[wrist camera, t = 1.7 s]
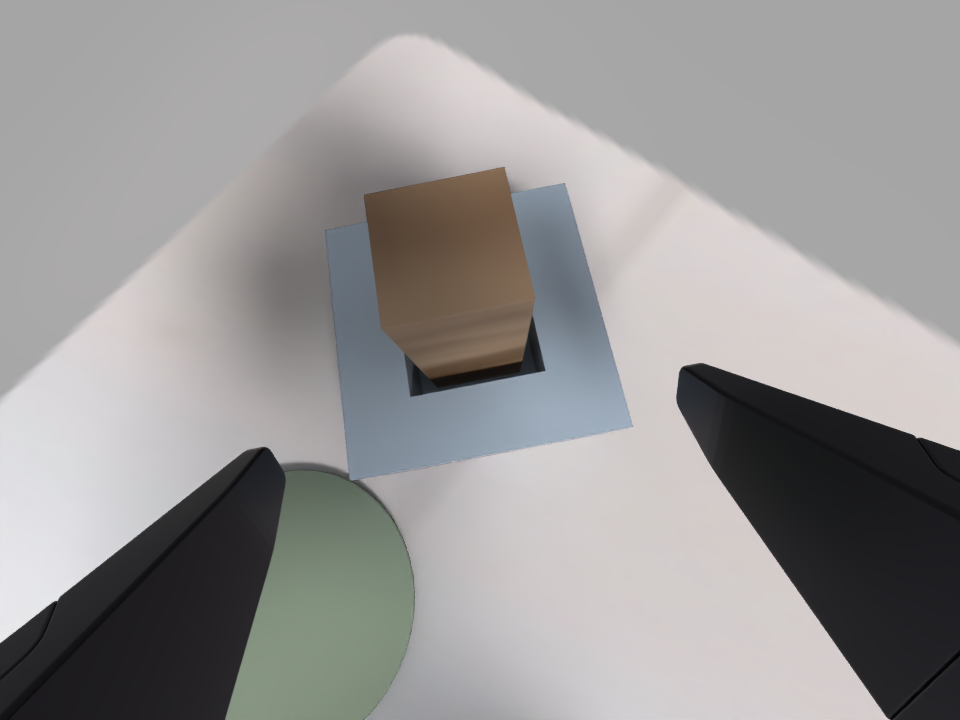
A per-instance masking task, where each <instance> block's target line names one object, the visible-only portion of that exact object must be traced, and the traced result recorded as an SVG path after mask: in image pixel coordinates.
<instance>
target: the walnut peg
mask: <svg viewBox="0 0 960 720" xmlns="http://www.w3.org/2000/svg"><path fill="white" fill-rule="evenodd" d="M364 200H365V208H366V216H367V223H368V231H369V239H370V247H371V254H372V262H373V270H374V278H375V286H376V293H377V301H378V309H379V317H380V324H381V329H382V330H383V331H384V332H385V333H386V334H387V335H388V336H389V337H390V338H391V339H392V340H393V341H394V343H395V344H396V345H397V346H398V347H399V348H400V349H401V350H402V351H403V352H404V353H405V354H406V355H407V356H408V357H409V358H410V359H411V360H412V361H413V362H414V364H415V365H416V366H417V367H418V368H419V369H420V370H421V371H422V372H423V373H424V374H425V375H426V376H427V377H428V378H429V379H430V380H431V381H432V382H433V383H434V385H435V386H436V387H437V388H440V387H446V386H451V385H456V384H461V383H466V382H471V381H477V380H482V379H487V378H492V377H497V376H503V375H508V374H513V373H518V372H520V370H521V365H522V360H523V356H524V351H525V346H526V341H527V337H528V332H529V327H530V322H531V318H532V313H533V308H534V303H535V299H536V298H535V294H534V290H533V285H532V281H531V277H530V273H529V268H528V264H527V260H526V256H525V252H524V247H523V243H522V239H521V235H520V230H519V226H518V222H517V218H516V214H515V209H514V205H513V201H512V197H511V193H510V188H509V184H508V180H507V176H506V171H505V167H502V168H497V169H492V170H487V171H482V172H477V173H472V174H467V175H461V176H456V177H451V178H446V179H441V180H436V181H431V182H426V183H421V184H416V185H411V186H406V187H401V188H396V189H391V190H386V191H381V192H376V193H371V194H366V195H364Z"/></svg>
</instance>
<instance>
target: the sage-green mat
mask: <svg viewBox="0 0 960 720" xmlns="http://www.w3.org/2000/svg"><path fill="white" fill-rule="evenodd" d="M284 473H285V477H286V485H285V491H284V496H283V502H282V508H281V513H280V519H279V525H278V530H277V536H276V541H275V546H274V551H273V554H272V558H271V562H270V566H269V569H268V573H267V576H266V580H265V583H264V587H263V590H262V593H261V597H260V600H259V604H258V607H257V611H256V614H255V618H254V621H253V625H252V628H251V632H250V635H249V639H248V642H247V646H246V649H245V653H244V656H243V660H242V663H241V667H240V670H239V674H238V677H237V680H236V684H235V687H234V691H233V694H232V698H231V701H230V705H229V708H228V712H227V715H226V719H225V720H364V719H365V718H366V717H367V716H368V715H369V714H370V713H371V712H372V711H373V709H374V708H375V707H376V706H377V704H378V703H379V702H380V700H381V699H382V697H383V696H384V695H385V693H386V692H387V690H388V688H389V686H390V685H391V683H392V681H393V679H394V677H395V675H396V674H397V671H398V669H399V667H400V664H401V662H402V660H403V657H404V655H405V652H406V649H407V645H408V642H409V638H410V635H411V630H412V623H413V617H414V603H415V591H414V578H413V572H412V567H411V562H410V558H409V554H408V551H407V548H406V545H405V542H404V540H403V538H402V536H401V534H400V532H399V530H398V528H397V526H396V524H395V523H394V521H393V520H392V518H391V517H390V515H389V514H388V512H387V511H386V510H385V509H384V508H383V507H382V506H381V504H380V503H379V502H378V501H377V500H376V499H375V498H373V497H372V496H371V495H370V494H369V493H368V492H367V491H365V490H364V489H362V488H361V487H359V486H358V485H356V484H354V483H352V482H350V481H348V480H346V479H344V478H342V477H339V476H336V475H332V474H329V473H325V472H318V471H308V470H296V471H287V472H284Z"/></svg>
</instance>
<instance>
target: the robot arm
mask: <svg viewBox="0 0 960 720" xmlns="http://www.w3.org/2000/svg"><path fill="white" fill-rule="evenodd" d="M676 399H677V404H678V407H679V409H680V411H681V413H682V415H683V417H684V418H685V420H686V422H687V424H688V426H689V427H690V429H691V431H692V433H693V435H694V437H695V438H696V440H697V442H698V444H699V446H700V448H701V449H702V451H703V453H704V455H705V457H706V458H707V460H708V462H709V464H710V465H711V467H712V468H713V470H714V471H715V473H716V474H717V476H718V477H719V479H720V480H721V482H722V483H723V485H724V486H725V487H726V489H727V490H728V492H729V493H730V495H731V496H732V497H733V499H734V500H735V502H736V503H737V505H738V506H739V507H740V509H741V510H742V512H743V513H744V515H745V516H746V517H747V519H748V520H749V522H750V523H751V525H752V526H753V527H754V529H755V530H756V532H757V533H758V535H759V536H760V537H761V539H762V540H763V542H764V543H765V544H766V546H767V547H768V549H769V550H770V552H771V553H772V554H773V556H774V557H775V559H776V560H777V562H778V563H779V564H780V566H781V567H782V569H783V570H784V572H785V573H786V574H787V576H788V577H789V579H790V580H791V582H792V583H793V584H794V586H795V587H796V589H797V590H798V592H799V593H800V594H801V596H802V597H803V599H804V600H805V602H806V603H807V604H808V606H809V607H810V609H811V610H812V612H813V613H814V614H815V616H816V617H817V619H818V620H819V621H820V623H821V624H822V626H823V627H824V629H825V630H826V631H827V633H828V634H829V636H830V637H831V639H832V640H833V641H834V643H835V644H836V646H837V647H838V649H839V650H840V651H841V653H842V654H843V656H844V657H845V659H846V660H847V661H848V663H849V664H850V666H851V667H852V669H853V670H854V671H855V673H856V674H857V676H858V677H859V679H860V680H861V681H862V683H863V684H864V686H865V687H866V689H867V690H868V691H869V693H870V694H871V696H872V697H873V699H874V700H875V701H876V703H877V704H878V706H879V707H880V708H881V710H882V711H883V713H884V714H885V716H886V717H887V718H888V719H890V720H960V451H959V450H956V449H953V448H950V447H947V446H944V445H941V444H938V443H936V442H933V441H930V440H927V439H924V438H917V439H916V437H915V436H914V435H912V434H909V433H906V432H903V431H900V430H897V429H894V428H891V427H888V426H886V425H883V424H880V423H877V422H874V421H871V420H868V419H865V418H862V417H859V416H856V415H853V414H850V413H847V412H844V411H842V410H839V409H836V408H833V407H830V406H827V405H824V404H821V403H818V402H815V401H812V400H809V399H806V398H803V397H801V396H798V395H795V394H792V393H789V392H786V391H783V390H780V389H777V388H774V387H771V386H768V385H765V384H762V383H760V382H757V381H754V380H751V379H748V378H745V377H742V376H739V375H736V374H733V373H730V372H727V371H724V370H721V369H719V368H716V367H713V366H710V365H707V364H704V363H697V364H692V365H687V366H683V367H682V368H681V369H680V372H679V379H678V387H677V396H676ZM285 485H286V477H285V473H284V471H283V469H282V468H281V466H280V465H279V463H278V461H277V460H276V458H275V457H274V455H273V453H272V452H271V450H270V449H268V448H267V447H260V448H255V449H250V450H247V451H245V452H243V453H242V454H241V455H239V456H238V457H237V458H236V459H234V460H233V461H232V462H230V463H229V464H228V465H227V466H225V467H224V468H223V469H222V470H220V471H219V472H218V473H217V474H215V475H214V476H213V477H211V478H210V479H209V480H208V481H206V482H205V483H204V484H203V485H201V486H200V487H199V488H197V489H196V490H195V491H194V492H192V493H191V494H190V495H189V496H187V497H186V498H185V499H183V500H182V501H181V502H180V503H178V504H177V505H176V506H175V507H173V508H172V509H171V510H170V511H168V512H167V513H166V514H164V515H163V516H162V517H161V518H159V519H158V520H157V521H156V522H154V523H153V524H152V525H150V526H149V527H148V528H147V529H145V530H144V531H143V532H142V533H140V534H139V535H138V536H137V537H135V538H134V539H133V540H131V541H130V542H129V543H128V544H126V545H125V546H124V547H123V548H121V549H120V550H119V551H117V552H116V553H115V554H114V555H112V556H111V557H110V558H109V559H107V560H106V561H105V562H103V563H102V564H101V565H100V566H98V567H97V568H96V569H95V570H93V571H92V572H91V573H90V574H88V575H87V576H86V577H84V578H83V579H82V580H81V581H79V582H78V583H77V584H76V585H74V586H73V587H72V588H70V589H69V590H68V591H67V592H65V593H64V594H63V595H62V596H60V598H59V599H58V601H54V602H53V603H51V604H50V605H49V606H47V607H46V608H45V609H44V610H42V611H41V612H40V613H39V614H37V615H36V616H35V617H34V618H32V619H31V620H30V621H28V622H27V623H26V624H25V625H23V626H22V627H21V628H19V629H18V630H17V631H16V632H14V633H13V634H12V635H10V636H9V637H8V638H6V639H5V640H4V641H3V642H1V643H0V720H225V719H226V715H227V712H228V708H229V705H230V701H231V698H232V694H233V691H234V687H235V684H236V680H237V677H238V674H239V670H240V667H241V663H242V660H243V656H244V653H245V649H246V646H247V642H248V639H249V635H250V632H251V628H252V625H253V621H254V618H255V614H256V611H257V607H258V604H259V600H260V597H261V593H262V590H263V587H264V583H265V580H266V576H267V573H268V569H269V566H270V562H271V558H272V554H273V551H274V546H275V541H276V536H277V530H278V525H279V519H280V513H281V508H282V502H283V496H284V491H285Z"/></svg>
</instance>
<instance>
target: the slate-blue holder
mask: <svg viewBox="0 0 960 720" xmlns="http://www.w3.org/2000/svg"><path fill="white" fill-rule="evenodd" d="M511 197H512V201H513V205H514V209H515V214H516V218H517V222H518V226H519V230H520V235H521V239H522V243H523V247H524V252H525V256H526V260H527V264H528V268H529V273H530V277H531V281H532V285H533V290H534V294H535V298H536V299H535V303H534V308H533V313H532V318H531V322H530V327H529V332H528V337H527V341H526V346H525V351H524V356H523V360H522V365H521V370H520V372H518V373H513V374H508V375H503V376H497V377H492V378H487V379H482V380H477V381H471V382H466V383H461V384H456V385H451V386H446V387H440V388H437V387H436V386H435V385H434V383H433V382H432V381H431V380H430V379H429V378H428V377H427V376H426V375H425V374H424V373H423V372H422V371H421V370H420V369H419V368H418V367H417V366H416V365H415V364H414V362H413V361H412V360H411V359H410V358H409V357H408V356H407V355H406V354H405V353H404V352H403V351H402V350H401V349H400V348H399V347H398V346H397V345H396V344H395V343H394V341H393V340H392V339H391V338H390V337H389V336H388V335H387V334H386V333H385V332H384V331H383V330H382V329H381V324H380V317H379V309H378V301H377V293H376V286H375V278H374V270H373V262H372V254H371V247H370V239H369V231H368V223H367V222H365V223H360V224H355V225H350V226H345V227H340V228H334V229H329V230H325V233H326V243H327V253H328V264H329V274H330V284H331V294H332V305H333V315H334V325H335V335H336V346H337V356H338V366H339V376H340V387H341V397H342V407H343V417H344V428H345V438H346V448H347V458H348V469H349V479H350V481H352V480H358V479H364V478H370V477H376V476H382V475H388V474H393V473H399V472H404V471H409V470H414V469H420V468H425V467H430V466H435V465H441V464H446V463H451V462H456V461H462V460H467V459H472V458H477V457H482V456H488V455H493V454H498V453H503V452H509V451H514V450H519V449H524V448H530V447H535V446H540V445H545V444H550V443H556V442H561V441H566V440H571V439H577V438H582V437H587V436H592V435H598V434H603V433H607V432H611V431H616V430H620V429H625V428H629V427H633V425H632V421H631V417H630V414H629V410H628V407H627V403H626V399H625V396H624V392H623V389H622V385H621V382H620V378H619V374H618V371H617V367H616V364H615V360H614V357H613V353H612V349H611V346H610V342H609V339H608V335H607V331H606V328H605V324H604V321H603V317H602V314H601V310H600V306H599V303H598V299H597V296H596V292H595V289H594V285H593V281H592V278H591V274H590V271H589V267H588V264H587V260H586V256H585V253H584V249H583V246H582V242H581V238H580V235H579V231H578V228H577V224H576V221H575V217H574V213H573V210H572V206H571V203H570V199H569V196H568V192H567V188H566V185H565V183H562V184H557V185H552V186H547V187H542V188H537V189H532V190H527V191H522V192H517V193H512V194H511Z"/></svg>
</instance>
